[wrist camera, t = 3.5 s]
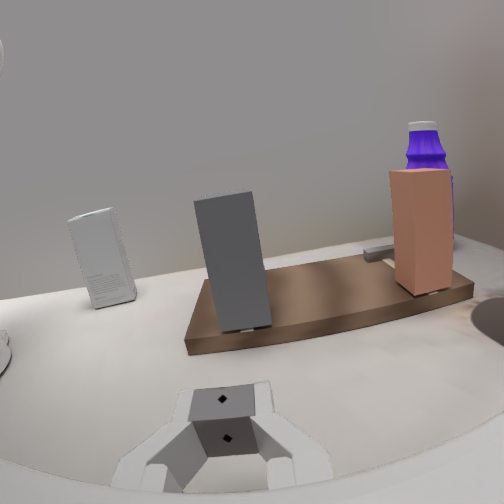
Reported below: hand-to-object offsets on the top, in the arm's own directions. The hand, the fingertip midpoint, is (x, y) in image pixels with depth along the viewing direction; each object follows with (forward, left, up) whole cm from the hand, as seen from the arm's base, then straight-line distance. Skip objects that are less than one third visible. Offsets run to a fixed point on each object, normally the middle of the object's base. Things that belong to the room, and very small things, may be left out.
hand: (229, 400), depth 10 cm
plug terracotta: (+16, +15, -4) cm, 22 cm away
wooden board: (+8, +20, -6) cm, 23 cm away
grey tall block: (0, +15, -4) cm, 16 cm away
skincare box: (-18, +28, -6) cm, 34 cm away
